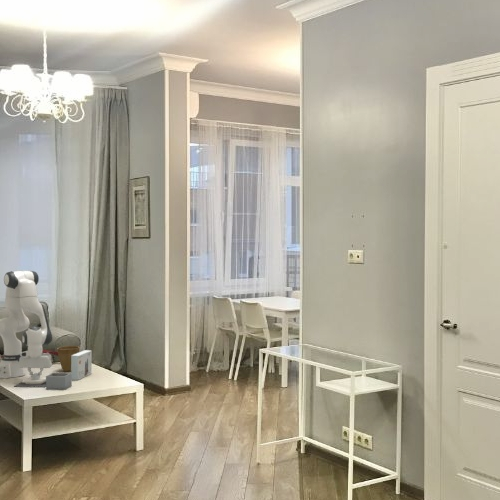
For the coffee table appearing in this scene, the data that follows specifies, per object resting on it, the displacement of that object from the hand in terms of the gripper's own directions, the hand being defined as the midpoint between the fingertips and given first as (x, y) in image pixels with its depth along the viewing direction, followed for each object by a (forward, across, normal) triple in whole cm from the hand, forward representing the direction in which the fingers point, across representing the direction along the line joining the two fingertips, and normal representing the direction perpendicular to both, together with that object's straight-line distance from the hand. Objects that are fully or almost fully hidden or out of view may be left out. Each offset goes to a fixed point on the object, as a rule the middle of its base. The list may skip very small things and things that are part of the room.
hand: (35, 374), depth 440 cm
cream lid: (+5, 0, 0) cm, 5 cm away
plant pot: (+6, -5, -41) cm, 42 cm away
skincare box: (+6, -21, -23) cm, 32 cm away
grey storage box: (+6, -19, +9) cm, 22 cm away
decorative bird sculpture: (+6, +24, -63) cm, 68 cm away
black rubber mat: (+6, 0, 0) cm, 6 cm away
